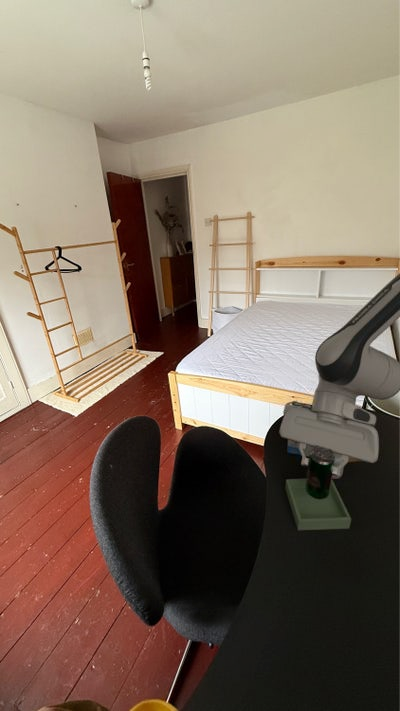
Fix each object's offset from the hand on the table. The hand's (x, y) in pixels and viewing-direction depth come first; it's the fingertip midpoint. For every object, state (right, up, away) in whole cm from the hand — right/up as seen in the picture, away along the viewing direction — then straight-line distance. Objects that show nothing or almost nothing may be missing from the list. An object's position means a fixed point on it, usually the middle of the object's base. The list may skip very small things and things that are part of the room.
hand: (319, 470), depth 64 cm
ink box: (+4, -3, +23) cm, 23 cm away
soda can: (+1, -6, +4) cm, 7 cm away
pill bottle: (+9, -6, +15) cm, 18 cm away
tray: (+1, -11, +6) cm, 12 cm away
